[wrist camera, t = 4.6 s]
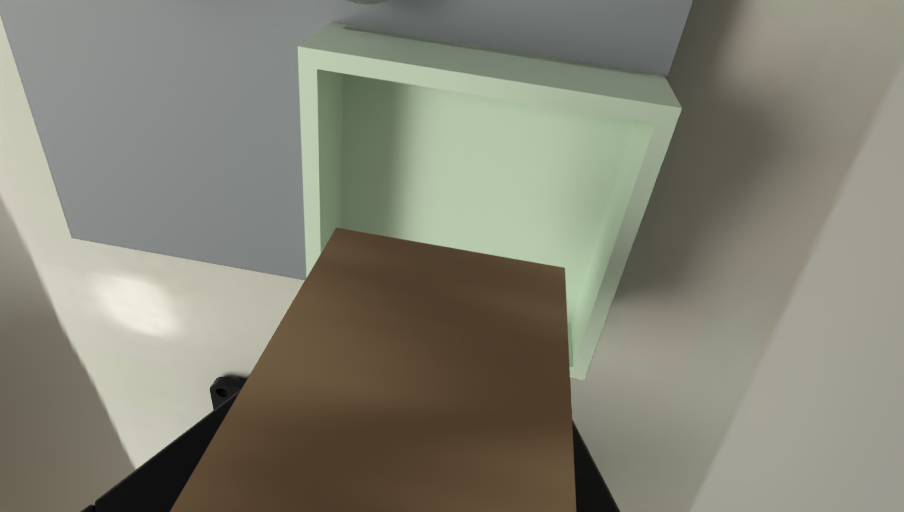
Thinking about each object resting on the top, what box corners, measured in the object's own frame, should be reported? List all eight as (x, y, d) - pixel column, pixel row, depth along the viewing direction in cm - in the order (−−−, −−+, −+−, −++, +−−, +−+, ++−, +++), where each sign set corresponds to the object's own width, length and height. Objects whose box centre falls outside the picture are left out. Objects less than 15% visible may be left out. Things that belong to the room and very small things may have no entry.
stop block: (564, 267, 10) (591, 838, 4) (521, 420, 12) (498, 923, 6) (336, 227, 10) (48, 719, 4) (335, 385, 12) (148, 843, 6)
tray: (580, 327, 18) (583, 380, 16) (332, 282, 18) (308, 329, 16) (663, 75, 13) (681, 108, 11) (330, 22, 13) (297, 46, 12)
